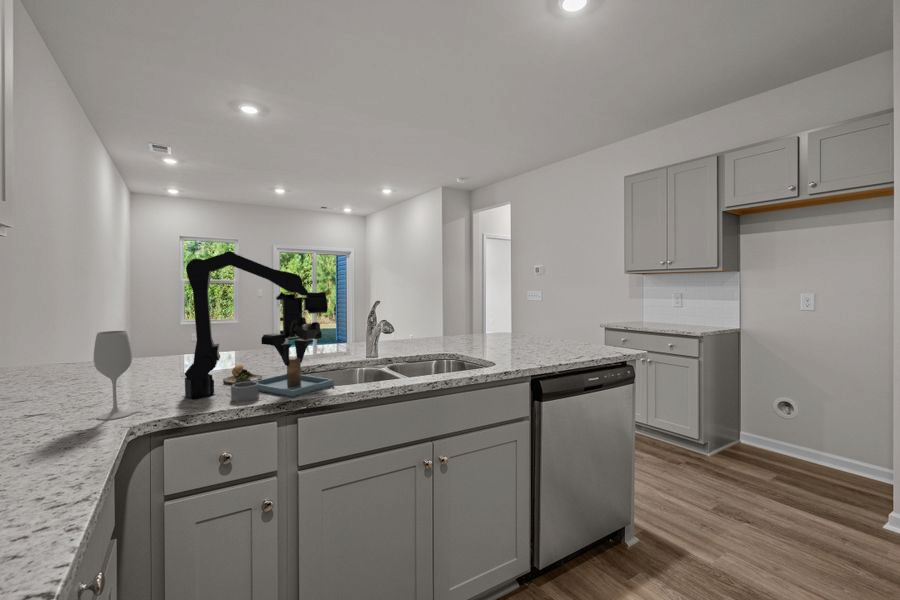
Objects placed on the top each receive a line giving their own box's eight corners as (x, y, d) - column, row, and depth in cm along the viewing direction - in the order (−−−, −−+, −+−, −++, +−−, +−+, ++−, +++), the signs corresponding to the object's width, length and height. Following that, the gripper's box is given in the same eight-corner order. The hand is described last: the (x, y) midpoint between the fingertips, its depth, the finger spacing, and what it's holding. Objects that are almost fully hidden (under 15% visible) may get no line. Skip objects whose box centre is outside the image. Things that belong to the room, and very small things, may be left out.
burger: (252, 387, 139) (251, 364, 139) (215, 387, 140) (214, 364, 139) (268, 379, 151) (268, 357, 151) (234, 379, 152) (234, 357, 151)
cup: (242, 405, 120) (241, 388, 119) (227, 401, 123) (226, 385, 123) (264, 399, 125) (263, 383, 125) (248, 395, 129) (248, 380, 129)
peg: (293, 386, 135) (292, 360, 134) (284, 384, 137) (283, 359, 136) (303, 383, 138) (303, 358, 138) (294, 382, 140) (294, 357, 140)
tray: (292, 399, 125) (292, 391, 125) (247, 390, 135) (247, 382, 135) (333, 387, 138) (333, 379, 138) (290, 380, 149) (290, 372, 148)
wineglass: (128, 409, 116) (125, 329, 115) (138, 414, 111) (135, 331, 110) (92, 416, 110) (88, 332, 109) (100, 422, 105) (97, 335, 104)
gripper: (285, 317, 124) (286, 372, 125) (333, 313, 140) (334, 361, 141) (259, 316, 130) (260, 368, 131) (309, 311, 146) (309, 358, 147)
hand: (293, 364), depth 137 cm, fingers open, 5 cm apart
